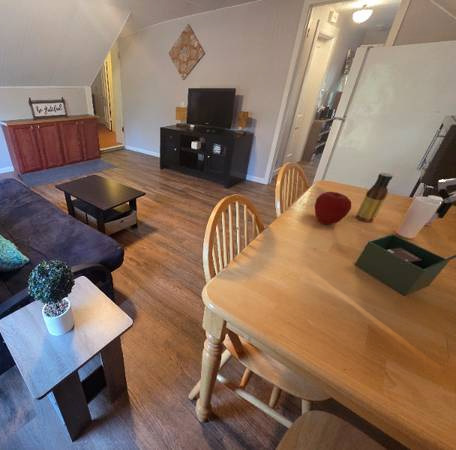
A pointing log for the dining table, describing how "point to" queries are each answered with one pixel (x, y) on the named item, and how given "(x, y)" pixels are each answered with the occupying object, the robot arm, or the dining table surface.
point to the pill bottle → (435, 212)
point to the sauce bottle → (374, 198)
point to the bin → (399, 264)
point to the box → (406, 256)
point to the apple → (332, 207)
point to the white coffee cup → (417, 216)
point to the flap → (442, 261)
